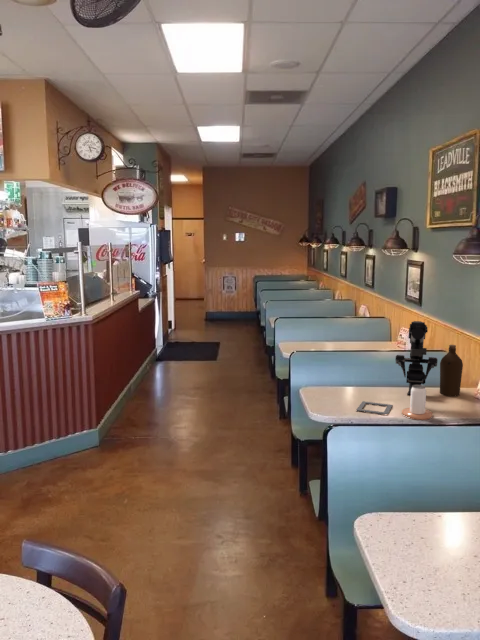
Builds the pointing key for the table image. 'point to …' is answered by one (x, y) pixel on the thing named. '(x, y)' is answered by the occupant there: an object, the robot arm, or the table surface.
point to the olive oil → (450, 373)
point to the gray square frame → (374, 404)
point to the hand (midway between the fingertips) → (415, 378)
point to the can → (418, 399)
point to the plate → (424, 416)
